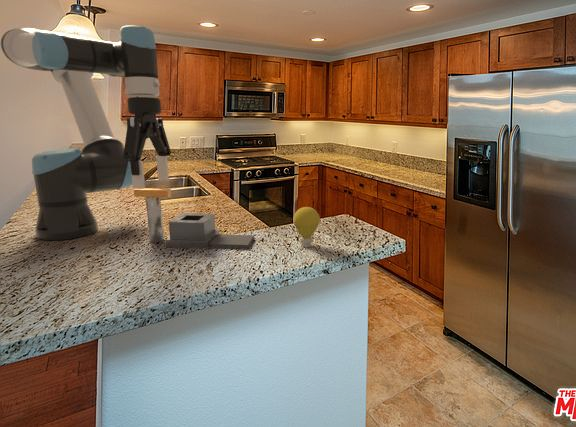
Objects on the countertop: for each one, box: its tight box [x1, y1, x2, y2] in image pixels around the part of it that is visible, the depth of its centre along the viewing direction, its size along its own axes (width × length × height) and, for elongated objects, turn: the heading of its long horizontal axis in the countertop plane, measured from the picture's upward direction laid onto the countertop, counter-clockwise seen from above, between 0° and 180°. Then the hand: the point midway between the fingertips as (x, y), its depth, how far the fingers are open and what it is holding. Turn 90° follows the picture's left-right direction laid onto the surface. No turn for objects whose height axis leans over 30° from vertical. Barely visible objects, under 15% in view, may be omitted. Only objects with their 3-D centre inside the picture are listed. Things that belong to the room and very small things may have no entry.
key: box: [133, 187, 172, 243], centre depth 96 cm, size 9×4×14 cm, turn 84°
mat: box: [209, 233, 255, 250], centre depth 95 cm, size 10×8×1 cm
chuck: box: [164, 212, 221, 250], centre depth 95 cm, size 11×10×6 cm
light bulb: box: [292, 206, 321, 248], centre depth 92 cm, size 7×7×10 cm
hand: (152, 184), depth 94 cm, fingers open, 13 cm apart
